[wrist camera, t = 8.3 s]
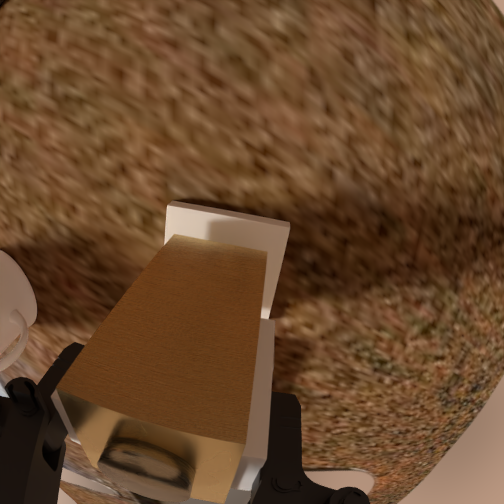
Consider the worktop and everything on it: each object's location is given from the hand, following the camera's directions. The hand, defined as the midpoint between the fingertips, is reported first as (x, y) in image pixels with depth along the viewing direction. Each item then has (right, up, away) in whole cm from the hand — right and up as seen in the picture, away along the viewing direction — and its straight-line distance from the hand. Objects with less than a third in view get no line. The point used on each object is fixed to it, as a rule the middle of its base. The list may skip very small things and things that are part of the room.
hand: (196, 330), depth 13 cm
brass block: (0, +2, +4) cm, 4 cm away
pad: (+1, +3, +6) cm, 7 cm away
